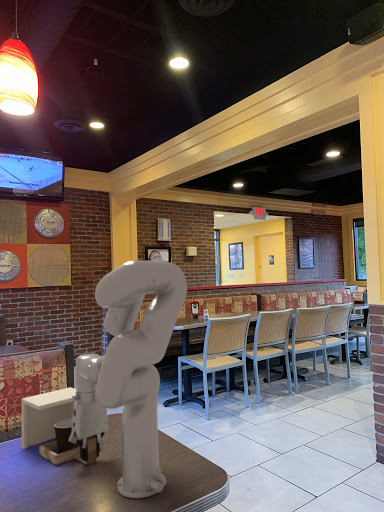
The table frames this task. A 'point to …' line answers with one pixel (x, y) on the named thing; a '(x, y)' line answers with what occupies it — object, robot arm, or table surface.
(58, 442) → the coffee mug
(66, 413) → the cream open box
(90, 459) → the wooden drawer
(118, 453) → the table surface
